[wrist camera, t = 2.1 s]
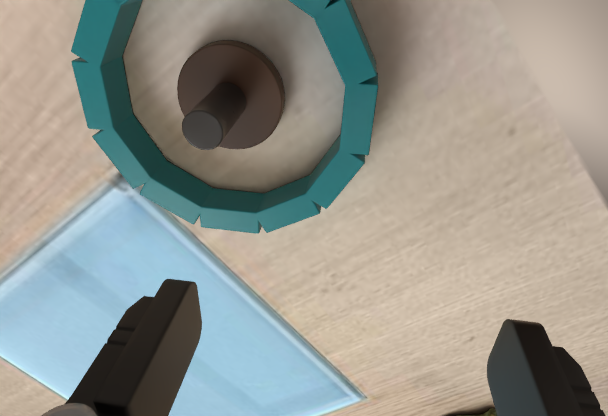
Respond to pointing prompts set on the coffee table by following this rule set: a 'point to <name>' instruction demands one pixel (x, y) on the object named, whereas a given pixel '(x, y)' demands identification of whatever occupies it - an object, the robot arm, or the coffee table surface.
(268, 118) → the peg stand
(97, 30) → the ring
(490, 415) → the seashell
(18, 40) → the coffee table surface
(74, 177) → the coffee table surface
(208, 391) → the coffee table surface
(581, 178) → the coffee table surface
